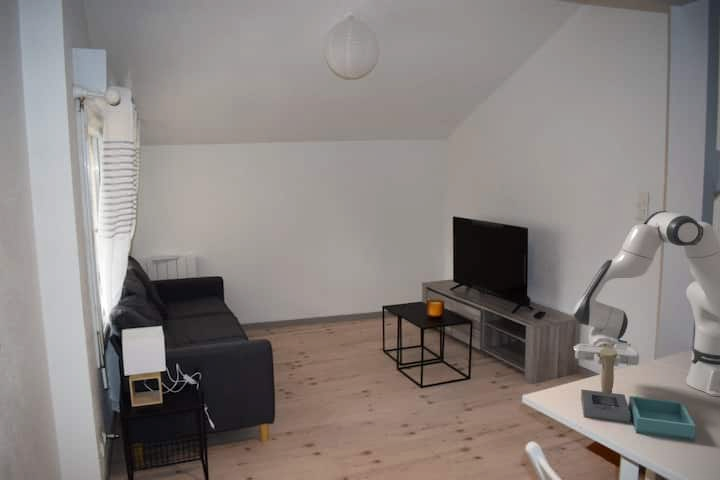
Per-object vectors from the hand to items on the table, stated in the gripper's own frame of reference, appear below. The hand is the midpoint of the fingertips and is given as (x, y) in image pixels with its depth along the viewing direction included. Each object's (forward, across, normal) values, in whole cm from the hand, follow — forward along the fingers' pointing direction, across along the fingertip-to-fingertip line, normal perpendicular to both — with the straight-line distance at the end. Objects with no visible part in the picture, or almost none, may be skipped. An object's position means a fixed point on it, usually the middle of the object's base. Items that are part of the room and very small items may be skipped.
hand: (608, 362), depth 180 cm
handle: (-1, 0, +12) cm, 12 cm away
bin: (+4, +16, +18) cm, 24 cm away
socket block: (-1, 0, +18) cm, 18 cm away
